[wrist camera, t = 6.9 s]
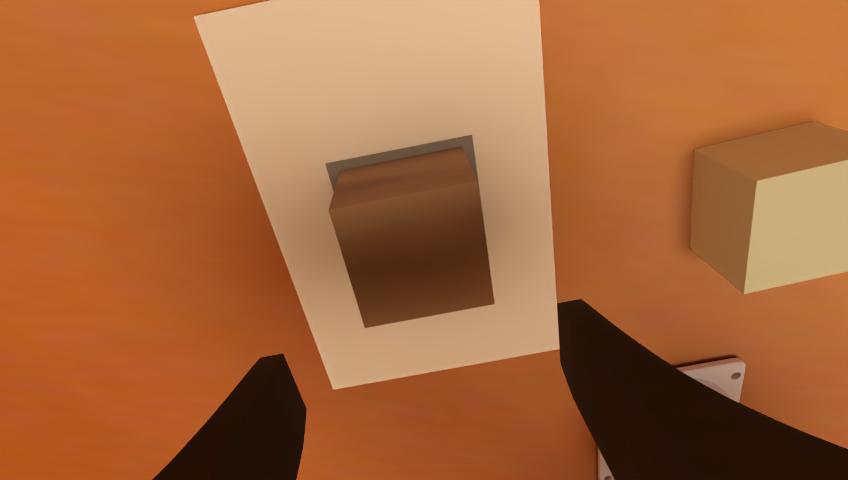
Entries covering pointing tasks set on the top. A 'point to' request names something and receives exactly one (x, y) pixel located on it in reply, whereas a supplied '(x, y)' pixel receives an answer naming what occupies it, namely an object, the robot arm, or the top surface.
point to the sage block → (773, 206)
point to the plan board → (396, 156)
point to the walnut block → (413, 237)
